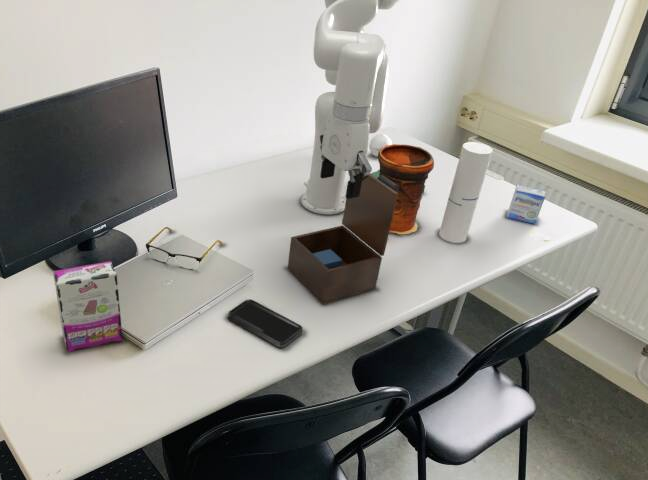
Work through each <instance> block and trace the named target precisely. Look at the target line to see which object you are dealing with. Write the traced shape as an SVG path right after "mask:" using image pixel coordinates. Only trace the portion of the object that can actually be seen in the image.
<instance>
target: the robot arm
mask: <svg viewBox="0 0 648 480" xmlns="http://www.w3.org/2000/svg"><path fill="white" fill-rule="evenodd" d="M398 2H399V0H324V5H325V9H324V10H323V12H322V13H321V14H320V16H319V18H318V20H317V21H316V25H315V29H314V40H313V61H314V63H315V66H317V68H319V69H322V70H324V75H325V76H324V77H325V80H326V82H327V83H328V84H330V85H332V86H335V88H334V91H327V92H324V93H321V94H320V95H319V96H318V97H317V99H316V102H315V106H314V124H315V125H314V139H313V140H314V142H313V149H312V158H311V165H310V173H309V179H308V181H304V182H303V186H304V187H305V188H307V189H306V193H304V194H303V195H302V197H301V205H302V206H303V207H304V208H305V209H306V210H308V211H310V212H311V213H314V214H319V215H328V216H329V215H336V214H340V213H342V212H344V209H345V203H346V198H347V199H350V198H355V197H358V196H359V195H360V190H361V184H362V181H364V180H365V179H366V178H367V177H368V175H369V173H372V170H373V168H372V166H371V163H370V162H369V160H368V158H367V156H368V149H369V142H370V141H369V140H370V134H375V133H377V132H378V131H379V130H380V129H381V127H382V124H383V119H384V114H385V105H386V98H387V97H386V96H387V91H388V83H389V73H390V59H389V57H388V55H387V45H386V44H385V40H384V39H383V38H382V37H381V36H380V35H379V34H376V33H367V32H364V31H365V28H364V27H365V26H367V25H369V24H370V23H371V22H372V21H374V19H375V18H376V16H377V13H378V10H391V9H392V8H393V7H394V6H395V5H396V4H397V3H398ZM354 165H356V166H354ZM354 170H357V172H358V174H357V175H356V176H355V174H354ZM347 172H348V176H349V180H348V181H347V185H346V190H345V191H346V192H345V198H344V196H343V192H344V186H345V179H346V175H347Z"/></svg>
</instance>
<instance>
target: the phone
mask: <svg viewBox="0 0 648 480" xmlns="http://www.w3.org/2000/svg"><path fill="white" fill-rule="evenodd" d="M227 315H228V316H227V319H228V320H229V321H231V322H233V323H234V324H236V325H237V326H240V327H242V328H243V329H245V330H247V331H249V332H251V333H252V334H253V335H256V336H257V337H260V338H262V339H263V340H264V341H267V342H268V343H270V344H271V345H274V346H275V347H277V348H281V349H283V348H285V347H287V346H288V345H290V344H291V343H292V342H293V341H294V340H296V339H297V338H298V337H299V336H301V335H302V333H303V326H302V325H301V324H299V323H297V322H295V321H293V320H291V319H289V318H287V317H286V316H284V315H282V314H280V313H278V312H276V311H274V310H272V309H270V308H269V307H267V306H265V305H263V304H261V303H259V302H257V301H255V300H253V299H246V300H244V301H243V302H241V303H240V304H238V305H237V306H235V307H234V308H232V309H231V310H229V311H228V314H227Z"/></svg>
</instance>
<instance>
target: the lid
mask: <svg viewBox="0 0 648 480" xmlns="http://www.w3.org/2000/svg"><path fill="white" fill-rule="evenodd" d="M354 166H356V165H354ZM370 173H371V172H370ZM370 173H369V175H368V177H367V178H366V179H365V180H364V181H362V184H361V190H360V195H359V196H358V197H355V198H350V199H347V198H346V197H345V201H346V203H345V209H344V210H343V215H342V220H341V224H342V225H343V226H344V227H346V228H347V229H348V230H349V231H350V232H352V233H353V234H354V235H355V236H356V237H358V238H359V239H360V240H361V241H363V242H364V243H365V244H366V245H367V246H369V247H370V248H371V249H372V250H373V251H375V252H376V253H377V254H378V255H380V256H381V257H383V256H385V252H386V248H387V244H388V243H387V242H388V240H389V235H390V232H389V231H390V227H391V222H392V218H393V214H394V209H395V205H396V200H397V196H398V193H397V191H398V190H399V186H398V185H396V184H395V183H393V182H392V181H390V180H389V179H387V178H386V177H384V176H383V175H380V176H379V177H378V178H375V177H374V176H372V175H371V174H370ZM354 174H355V176H356V175H357V174H358V172H357V170H354Z"/></svg>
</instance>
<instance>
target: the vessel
mask: <svg viewBox="0 0 648 480" xmlns="http://www.w3.org/2000/svg"><path fill="white" fill-rule="evenodd" d="M377 161H378V164H379V170H380V174H379V176H380V175H383V176H384V177H386V178H387V179H389V180H390V181H392V182H393V183H395V184H396V185H398V186H399V190H398V191H397V193H398V196H397V200H396V205H395V209H394V214H393V218H392V222H391V227H390V231H389V233H392V234H397V235H399V236H400V235H408V234H409V235H410V234H411V233H415V232H416V231H418V227H419V225H418V223H417V222H416V220H417V217H418V216H417V215H418V212H419V210H420V208H421V200H422V199H423V193H422V192H423V188H424V185H425V184H426V180H428V178H429V174H430V173H431V172H432V171H433V169H434V167H435V159H434V157H433V155H432V154H431V153H430V152H429V151H428V150H427V149H425V148H423V147H420V146H415V145H410V144H398V143H397V144H395V143H392V145H386V146H384V147H382V148H381V149H380V151H379V153H378V157H377Z"/></svg>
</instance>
